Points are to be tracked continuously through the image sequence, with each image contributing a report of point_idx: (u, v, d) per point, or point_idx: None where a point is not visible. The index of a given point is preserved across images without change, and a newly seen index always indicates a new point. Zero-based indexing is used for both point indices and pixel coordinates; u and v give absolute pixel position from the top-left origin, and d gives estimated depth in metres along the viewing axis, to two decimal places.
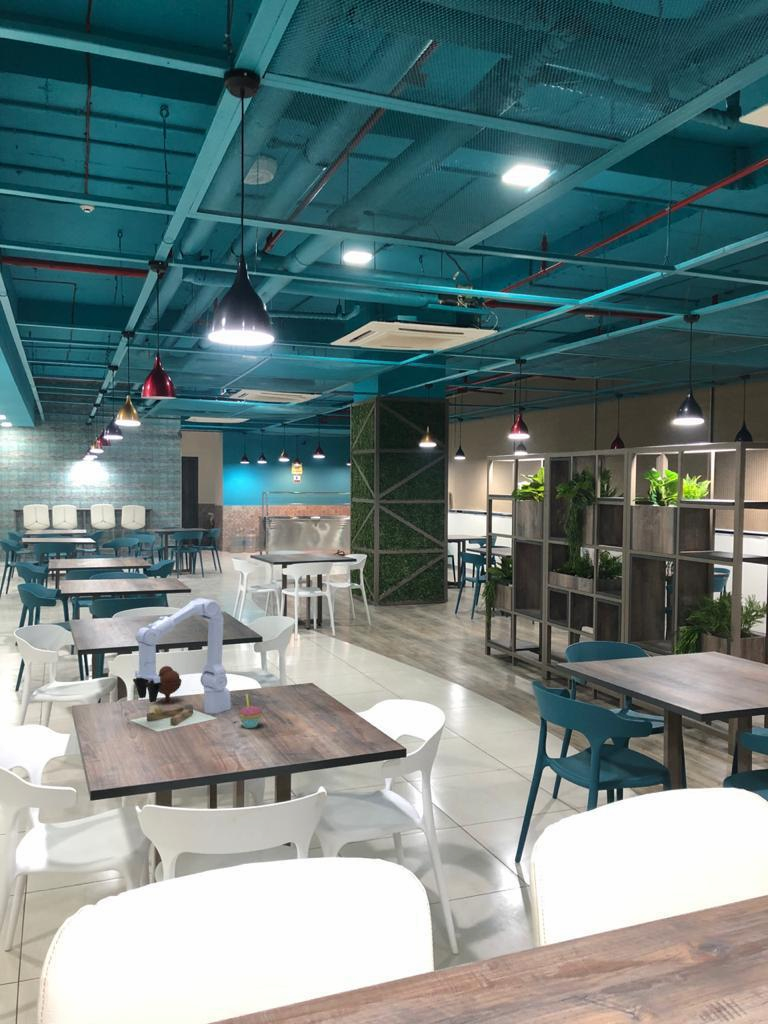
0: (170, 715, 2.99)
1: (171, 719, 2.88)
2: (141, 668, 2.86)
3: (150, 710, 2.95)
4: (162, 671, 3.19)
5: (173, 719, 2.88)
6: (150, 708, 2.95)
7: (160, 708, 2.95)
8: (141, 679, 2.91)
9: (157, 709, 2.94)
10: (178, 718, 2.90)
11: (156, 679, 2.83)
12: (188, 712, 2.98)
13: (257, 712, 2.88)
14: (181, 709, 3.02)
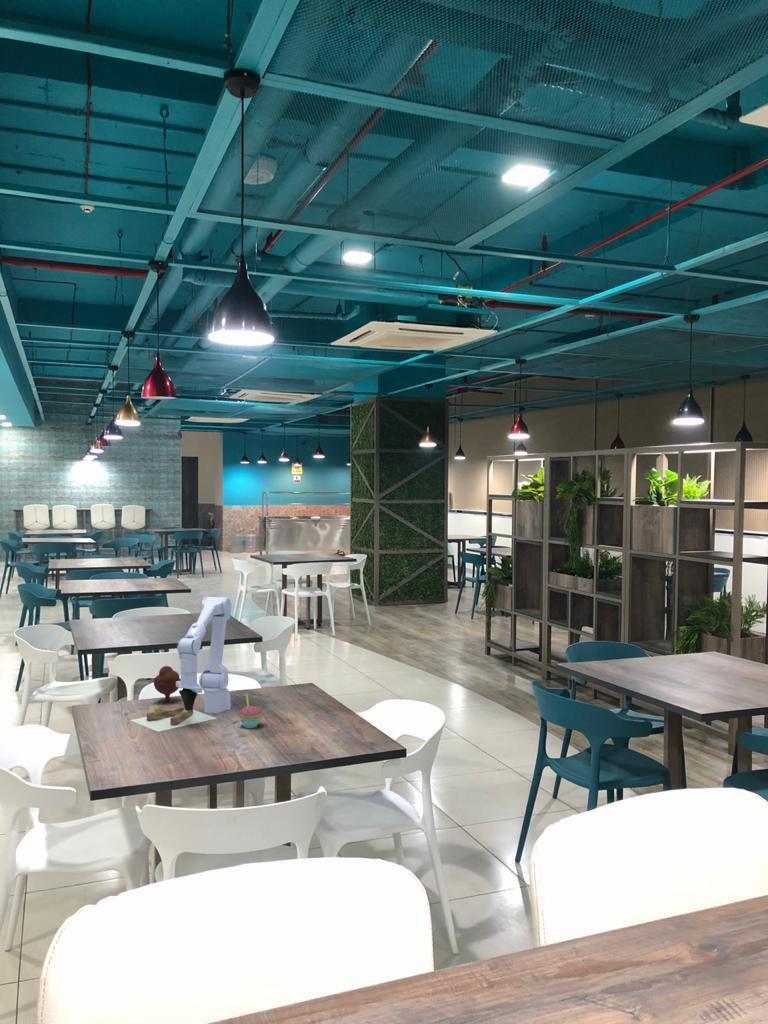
0: (170, 715, 2.99)
1: (171, 719, 2.88)
2: (183, 678, 2.86)
3: (150, 710, 2.95)
4: (162, 671, 3.19)
5: (173, 719, 2.88)
6: (150, 708, 2.95)
7: (160, 708, 2.95)
8: None
9: (157, 709, 2.94)
10: (178, 718, 2.90)
11: (198, 689, 2.83)
12: (188, 712, 2.98)
13: (257, 712, 2.88)
14: (181, 709, 3.02)
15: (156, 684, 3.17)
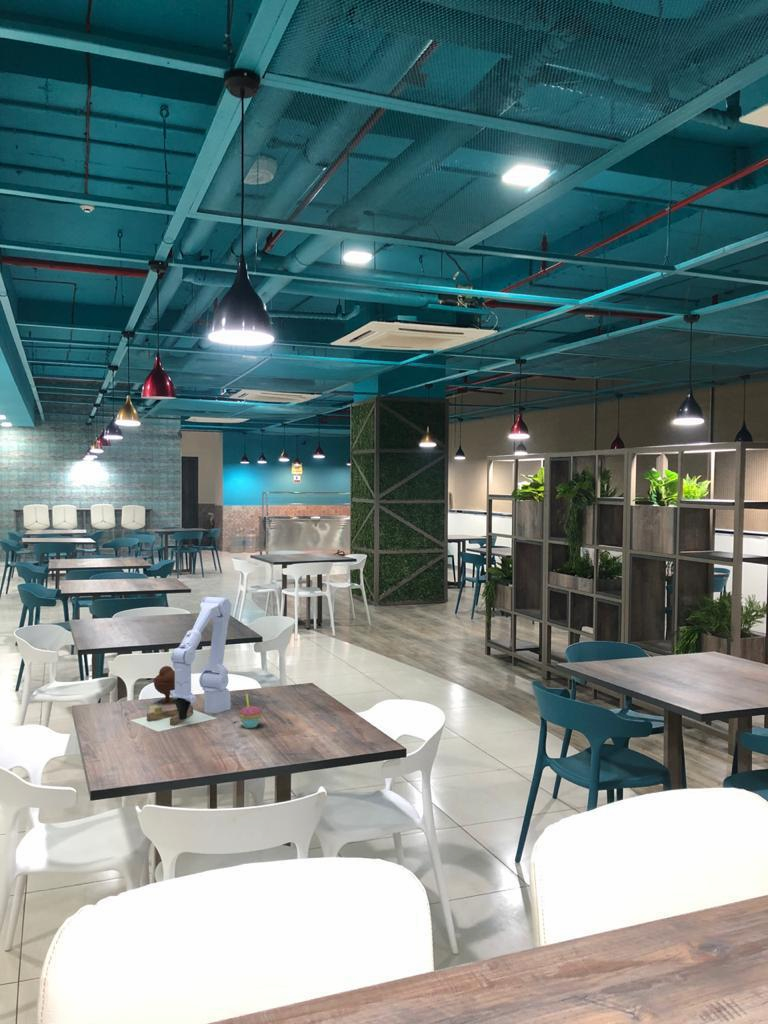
0: (170, 715, 2.99)
1: (171, 719, 2.88)
2: (177, 688, 2.89)
3: (150, 710, 2.95)
4: (162, 671, 3.19)
5: (173, 719, 2.88)
6: (150, 708, 2.95)
7: (160, 708, 2.95)
8: None
9: (157, 709, 2.94)
10: (178, 718, 2.90)
11: (192, 699, 2.86)
12: (188, 712, 2.98)
13: (257, 712, 2.88)
14: None
15: (156, 684, 3.17)
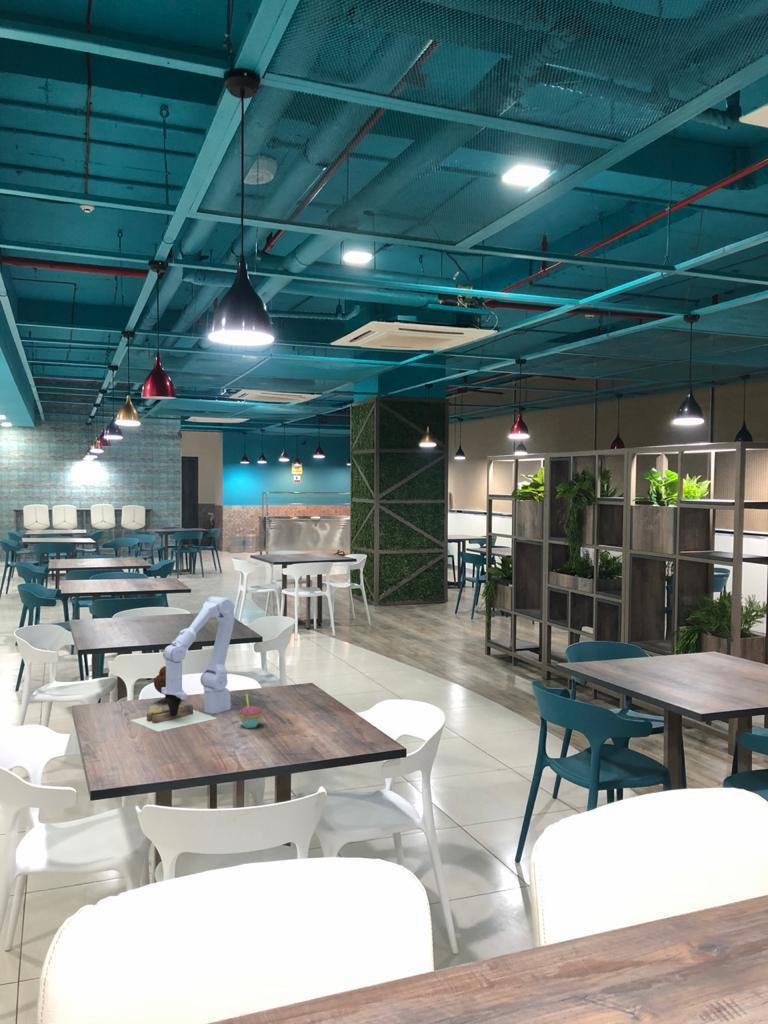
0: None
1: (152, 716, 2.91)
2: (168, 685, 2.93)
3: (150, 710, 2.95)
4: (162, 671, 3.19)
5: (153, 717, 2.91)
6: (150, 708, 2.95)
7: (160, 708, 2.95)
8: None
9: (157, 709, 2.94)
10: (160, 716, 2.92)
11: (183, 696, 2.90)
12: (180, 712, 2.98)
13: (257, 712, 2.88)
14: None
15: (156, 684, 3.17)
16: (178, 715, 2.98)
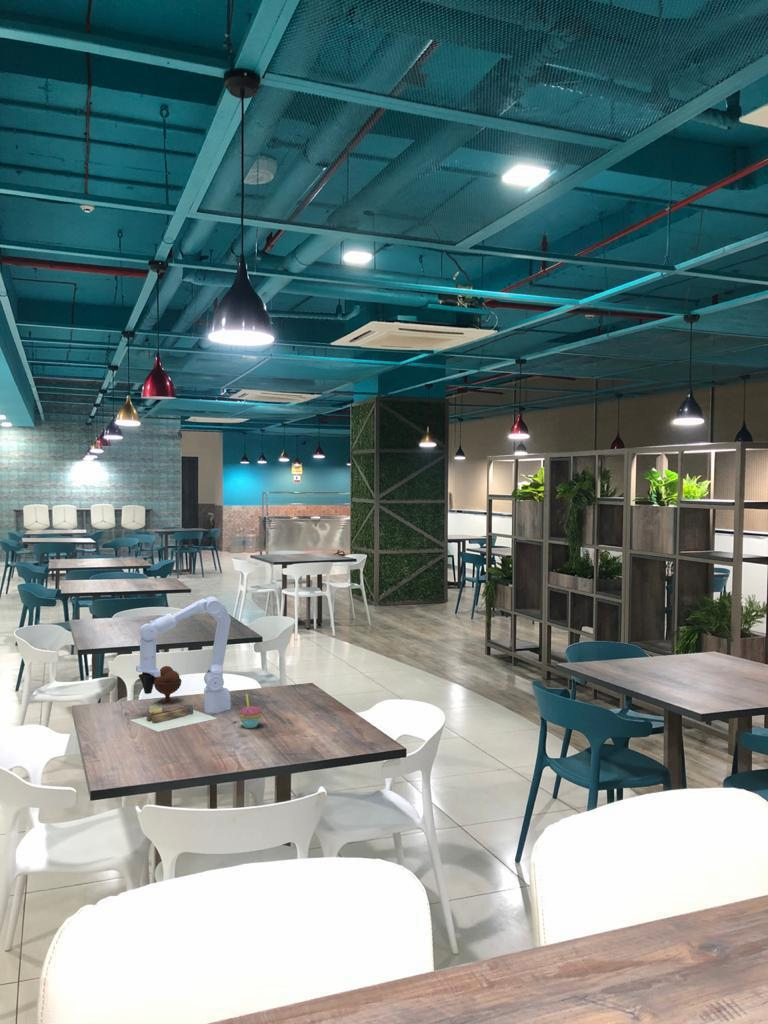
0: None
1: (152, 716, 2.91)
2: (142, 663, 2.97)
3: (150, 710, 2.95)
4: (162, 671, 3.19)
5: (153, 717, 2.91)
6: (150, 708, 2.95)
7: (160, 708, 2.95)
8: (146, 675, 3.00)
9: (157, 709, 2.94)
10: (160, 716, 2.92)
11: (156, 673, 2.94)
12: (180, 712, 2.98)
13: (257, 712, 2.88)
14: None
15: (156, 684, 3.17)
16: (178, 715, 2.98)
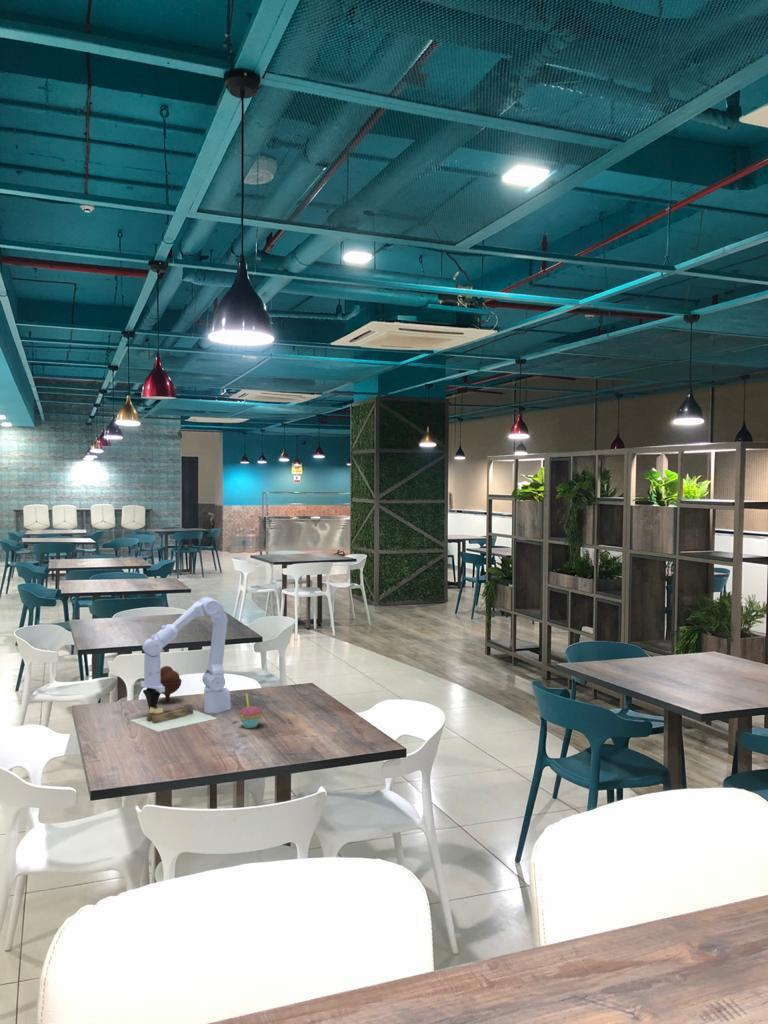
0: None
1: (152, 716, 2.91)
2: (146, 678, 2.94)
3: (151, 710, 2.95)
4: (162, 671, 3.19)
5: (153, 717, 2.91)
6: (151, 708, 2.95)
7: (161, 708, 2.94)
8: None
9: (158, 709, 2.93)
10: (160, 716, 2.92)
11: (161, 689, 2.91)
12: (180, 712, 2.98)
13: (257, 712, 2.88)
14: None
15: None
16: (178, 715, 2.98)
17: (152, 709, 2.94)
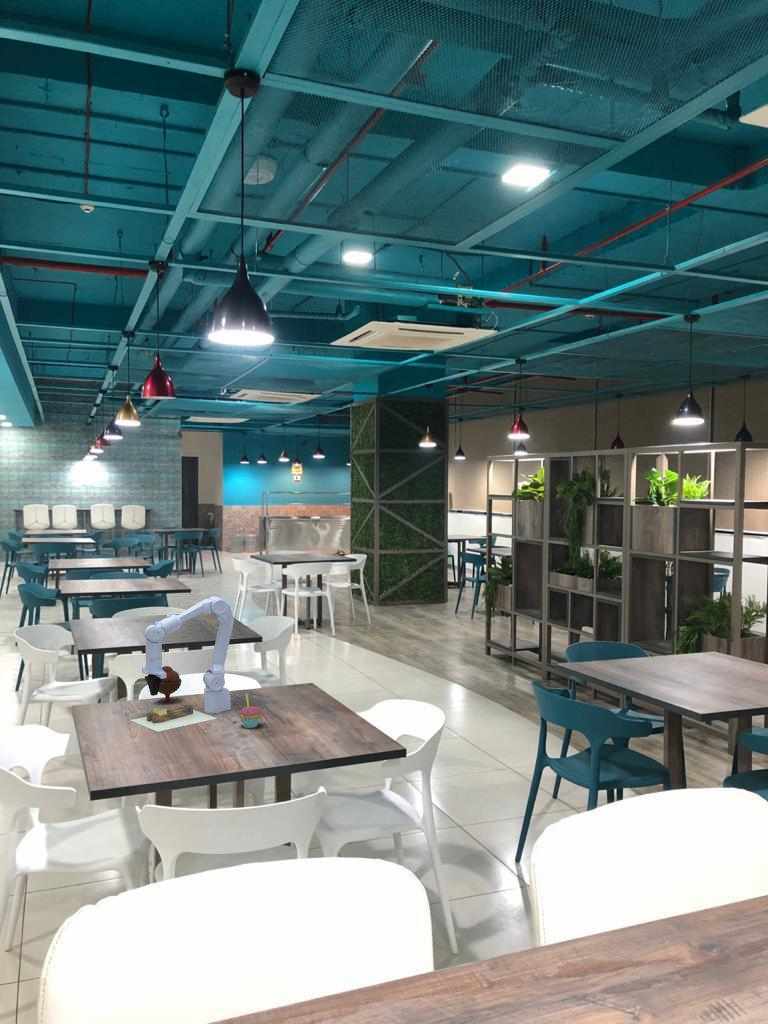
0: None
1: (152, 716, 2.91)
2: (148, 664, 2.95)
3: (155, 712, 2.93)
4: None
5: (153, 717, 2.91)
6: (155, 710, 2.93)
7: (165, 710, 2.92)
8: None
9: (162, 711, 2.91)
10: (160, 716, 2.92)
11: (162, 675, 2.93)
12: (180, 712, 2.98)
13: (257, 712, 2.88)
14: None
15: None
16: (178, 715, 2.98)
17: (155, 710, 2.92)
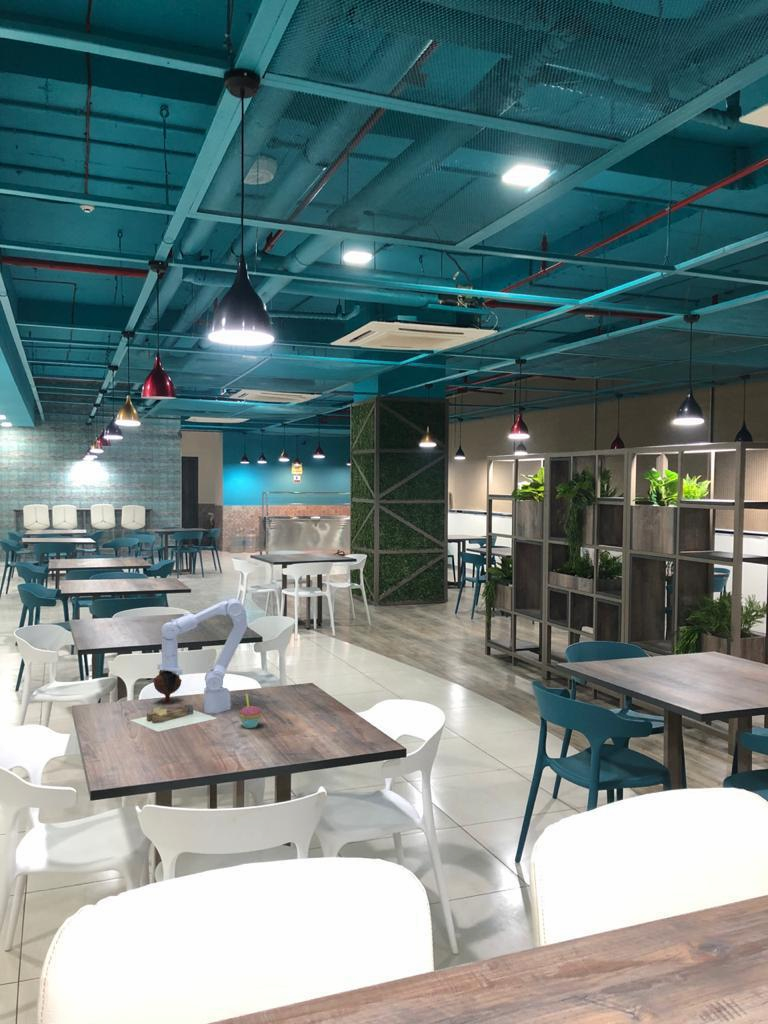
0: None
1: (152, 716, 2.91)
2: (164, 661, 3.01)
3: (155, 712, 2.93)
4: (162, 671, 3.19)
5: (153, 717, 2.91)
6: (155, 710, 2.93)
7: (165, 710, 2.92)
8: None
9: (162, 711, 2.91)
10: (160, 716, 2.92)
11: (178, 671, 2.98)
12: (180, 712, 2.98)
13: (257, 712, 2.88)
14: None
15: (156, 684, 3.17)
16: (178, 715, 2.98)
17: (155, 710, 2.92)
